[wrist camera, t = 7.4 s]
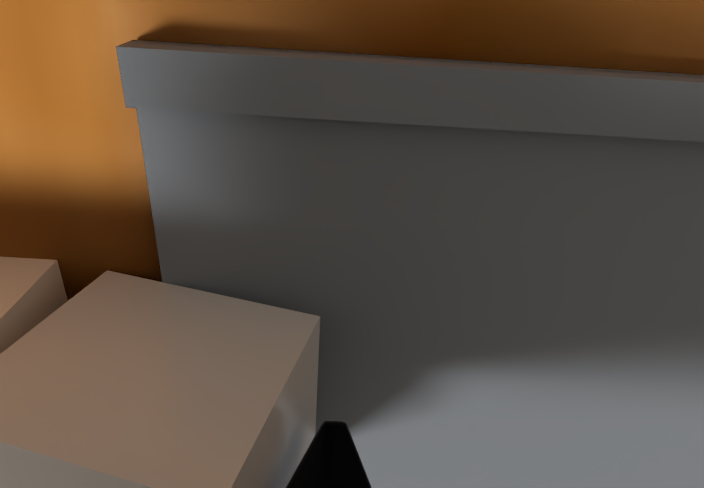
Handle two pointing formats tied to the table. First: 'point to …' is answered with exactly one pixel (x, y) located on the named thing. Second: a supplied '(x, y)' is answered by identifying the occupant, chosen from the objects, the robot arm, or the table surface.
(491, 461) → the rubber tray
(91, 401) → the cream matte cube
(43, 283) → the white square block
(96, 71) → the table surface
